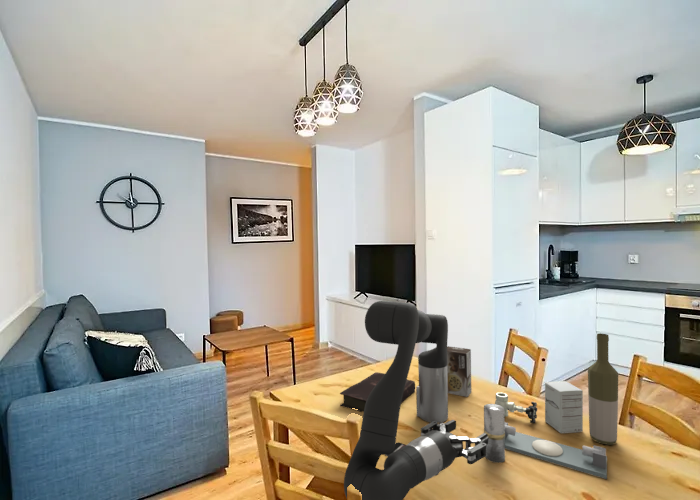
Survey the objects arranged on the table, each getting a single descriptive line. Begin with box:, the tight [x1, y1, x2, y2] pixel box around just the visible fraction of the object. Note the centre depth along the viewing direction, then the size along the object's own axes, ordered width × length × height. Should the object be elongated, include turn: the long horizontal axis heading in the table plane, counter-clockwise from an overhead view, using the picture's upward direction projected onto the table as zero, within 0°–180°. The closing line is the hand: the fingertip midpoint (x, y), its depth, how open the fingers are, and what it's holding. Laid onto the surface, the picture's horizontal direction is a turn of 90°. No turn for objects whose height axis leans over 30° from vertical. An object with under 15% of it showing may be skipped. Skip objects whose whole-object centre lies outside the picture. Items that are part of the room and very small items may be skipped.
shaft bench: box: [505, 421, 608, 480], centre depth 96 cm, size 26×9×4 cm, turn 54°
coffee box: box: [447, 345, 473, 398], centre depth 136 cm, size 9×6×16 cm
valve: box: [494, 392, 538, 424], centre depth 115 cm, size 7×7×12 cm
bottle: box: [587, 333, 619, 446], centre depth 101 cm, size 7×7×30 cm
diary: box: [339, 371, 416, 413], centre depth 132 cm, size 19×25×5 cm
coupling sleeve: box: [483, 403, 506, 464], centre depth 94 cm, size 5×5×13 cm
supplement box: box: [544, 380, 584, 434], centre depth 109 cm, size 7×7×13 cm
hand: (469, 430), depth 87 cm, fingers open, 8 cm apart
